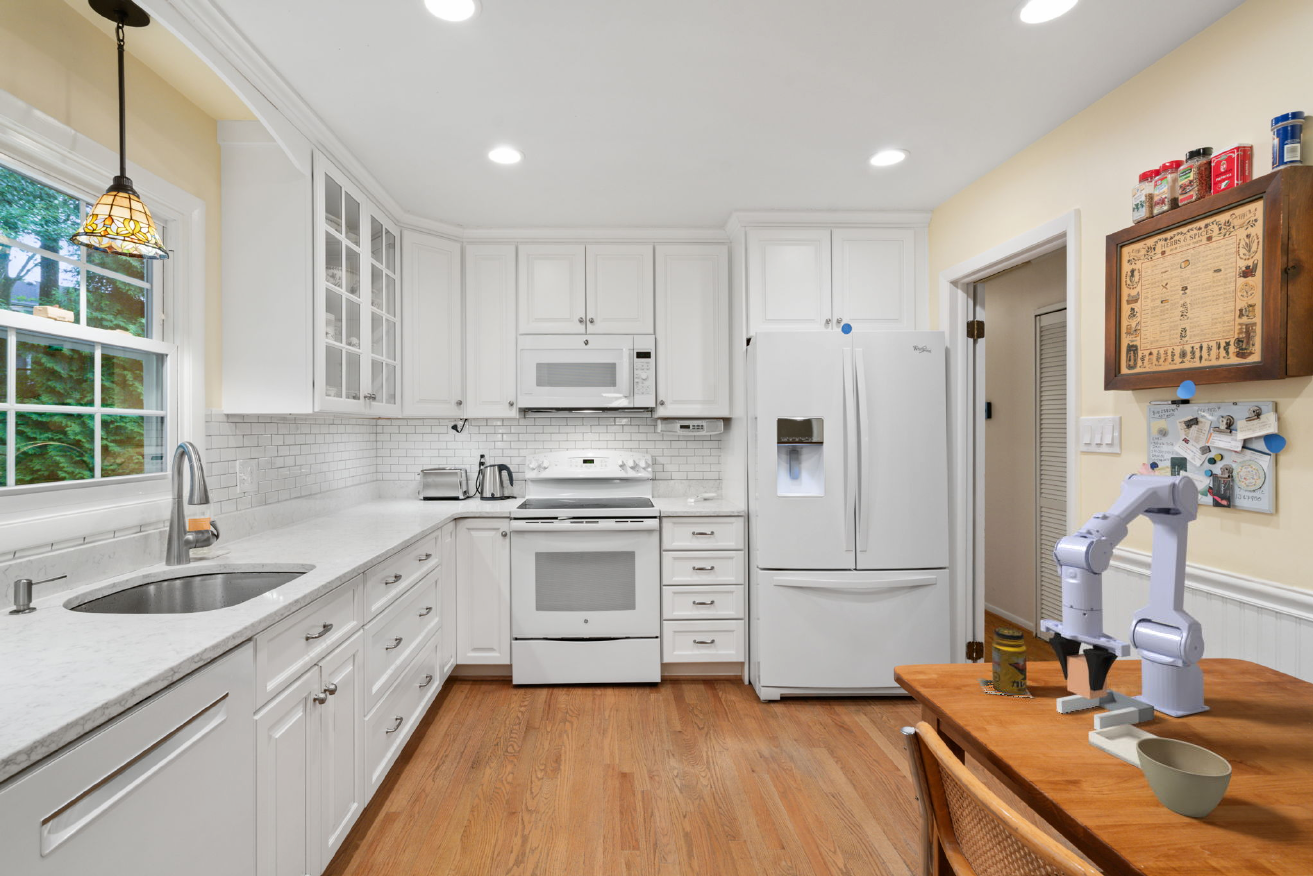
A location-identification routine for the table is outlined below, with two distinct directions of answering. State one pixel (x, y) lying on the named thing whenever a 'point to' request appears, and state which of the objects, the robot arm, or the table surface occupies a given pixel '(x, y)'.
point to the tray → (1119, 741)
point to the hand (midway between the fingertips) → (1083, 684)
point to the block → (1081, 678)
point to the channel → (1101, 719)
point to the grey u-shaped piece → (1126, 704)
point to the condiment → (1008, 663)
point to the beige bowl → (1184, 775)
